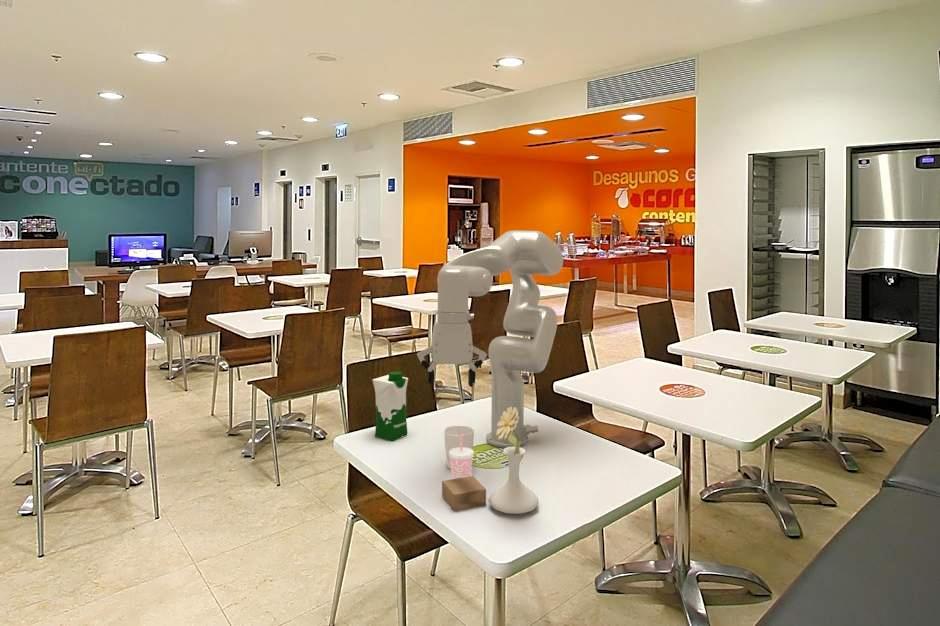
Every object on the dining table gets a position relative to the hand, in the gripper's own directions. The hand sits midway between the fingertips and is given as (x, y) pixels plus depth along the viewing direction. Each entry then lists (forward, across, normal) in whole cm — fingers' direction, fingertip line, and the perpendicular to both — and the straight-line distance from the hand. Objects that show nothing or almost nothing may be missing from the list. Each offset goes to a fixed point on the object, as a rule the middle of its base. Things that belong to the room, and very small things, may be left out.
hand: (451, 386), depth 159 cm
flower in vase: (+25, -13, +18) cm, 33 cm away
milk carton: (+24, +14, -34) cm, 44 cm away
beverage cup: (+25, -2, +4) cm, 25 cm away
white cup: (+24, -4, -9) cm, 26 cm away
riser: (+25, -2, +12) cm, 28 cm away
